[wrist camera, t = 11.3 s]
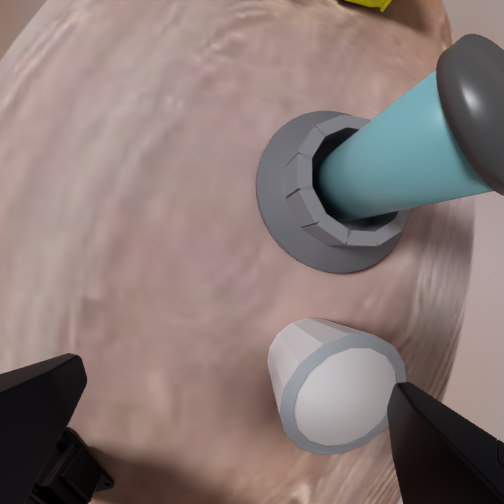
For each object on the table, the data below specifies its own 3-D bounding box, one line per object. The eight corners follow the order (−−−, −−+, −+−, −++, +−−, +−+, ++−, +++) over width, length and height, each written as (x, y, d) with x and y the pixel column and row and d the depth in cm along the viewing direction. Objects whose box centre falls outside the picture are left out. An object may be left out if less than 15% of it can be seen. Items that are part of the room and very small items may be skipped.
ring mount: (305, 302, 20) (326, 313, 16) (225, 152, 19) (228, 130, 16) (423, 226, 21) (456, 222, 17) (357, 97, 21) (379, 74, 17)
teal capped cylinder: (315, 234, 19) (500, 206, 5) (294, 158, 19) (427, 20, 5) (381, 217, 20) (564, 183, 6) (361, 147, 20) (515, 48, 6)
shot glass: (367, 322, 21) (426, 348, 14) (332, 408, 20) (374, 459, 13) (278, 295, 20) (311, 317, 13) (243, 390, 20) (259, 448, 13)
